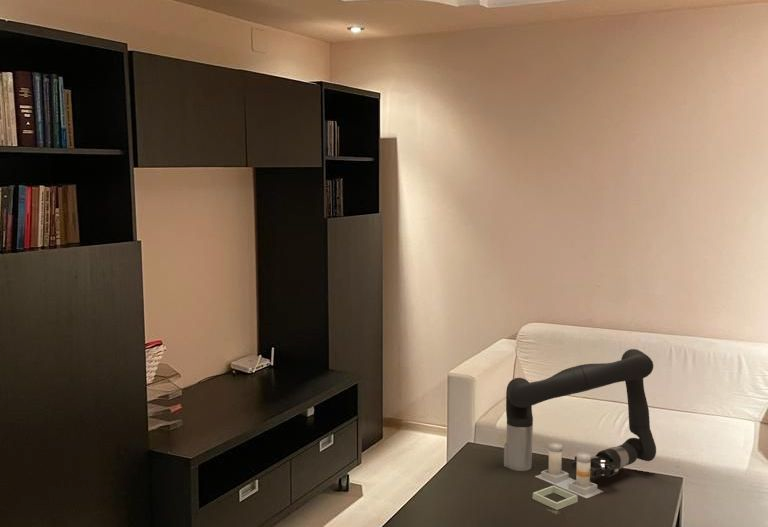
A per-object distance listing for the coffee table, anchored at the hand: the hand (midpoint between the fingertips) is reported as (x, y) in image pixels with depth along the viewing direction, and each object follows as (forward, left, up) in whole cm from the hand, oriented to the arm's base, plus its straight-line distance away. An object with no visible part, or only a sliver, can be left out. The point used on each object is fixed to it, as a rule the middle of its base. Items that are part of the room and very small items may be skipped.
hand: (582, 469), depth 241 cm
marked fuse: (0, 0, -7) cm, 7 cm away
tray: (-6, -12, -9) cm, 16 cm away
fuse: (-11, +6, -7) cm, 14 cm away
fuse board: (-5, +3, -9) cm, 10 cm away
